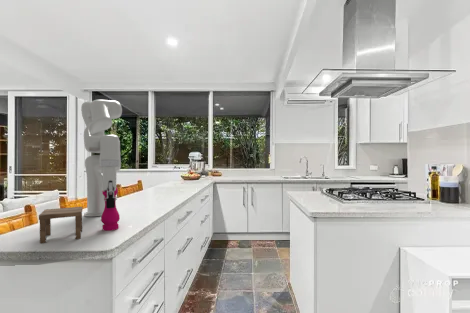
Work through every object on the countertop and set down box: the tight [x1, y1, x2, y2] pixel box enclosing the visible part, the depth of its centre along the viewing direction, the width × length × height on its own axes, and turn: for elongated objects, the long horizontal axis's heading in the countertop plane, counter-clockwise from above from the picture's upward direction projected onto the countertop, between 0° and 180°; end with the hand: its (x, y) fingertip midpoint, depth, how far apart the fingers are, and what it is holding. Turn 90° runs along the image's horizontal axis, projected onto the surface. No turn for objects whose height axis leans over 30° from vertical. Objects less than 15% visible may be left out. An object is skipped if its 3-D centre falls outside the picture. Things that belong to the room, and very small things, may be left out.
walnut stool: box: [38, 206, 83, 244], centre depth 108 cm, size 13×13×10 cm
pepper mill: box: [100, 187, 120, 232], centre depth 119 cm, size 7×7×20 cm
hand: (110, 206), depth 119 cm, fingers open, 5 cm apart
